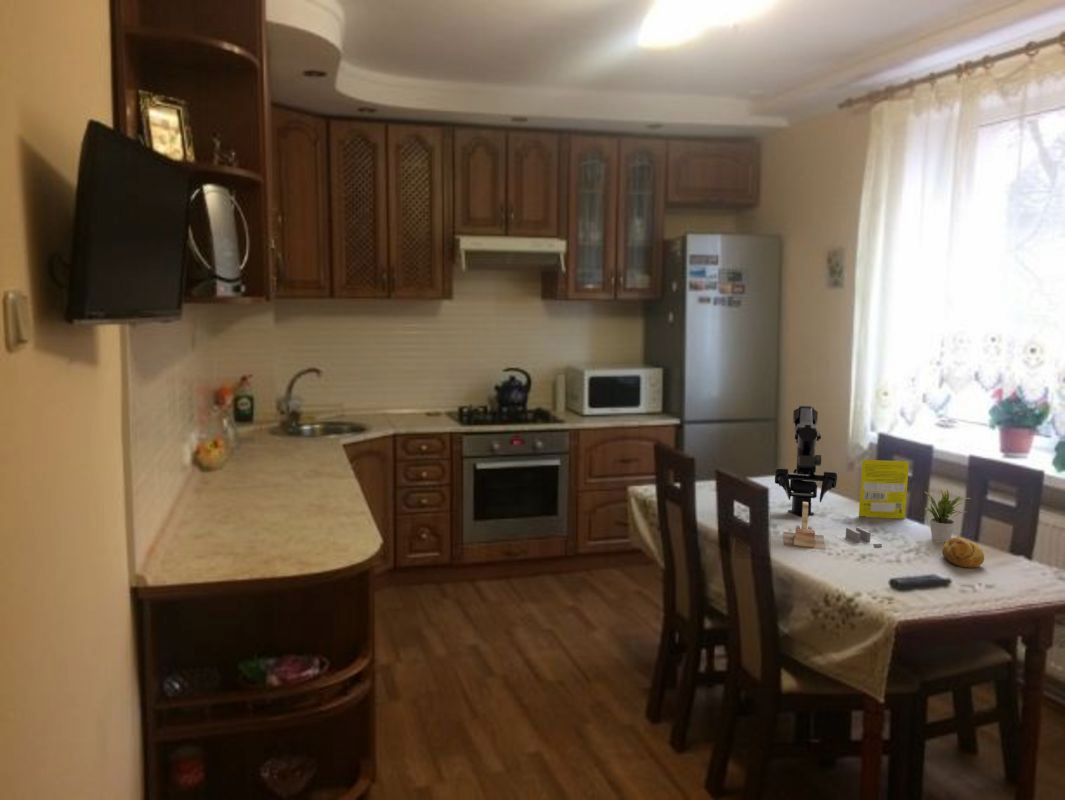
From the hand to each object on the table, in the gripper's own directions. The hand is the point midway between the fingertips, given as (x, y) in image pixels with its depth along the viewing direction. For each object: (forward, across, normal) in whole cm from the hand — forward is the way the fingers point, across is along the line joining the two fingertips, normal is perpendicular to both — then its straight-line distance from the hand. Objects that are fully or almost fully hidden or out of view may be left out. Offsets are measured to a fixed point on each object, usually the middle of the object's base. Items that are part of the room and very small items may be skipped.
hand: (805, 500), depth 262 cm
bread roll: (+17, +43, 0) cm, 46 cm away
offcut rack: (+14, 0, +3) cm, 14 cm away
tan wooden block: (+11, 0, +4) cm, 12 cm away
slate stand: (+9, +16, +7) cm, 20 cm away
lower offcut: (+16, 0, -1) cm, 16 cm away
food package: (-14, +27, +31) cm, 43 cm away
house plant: (+2, +42, +15) cm, 45 cm away
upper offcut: (+14, 0, -2) cm, 14 cm away
